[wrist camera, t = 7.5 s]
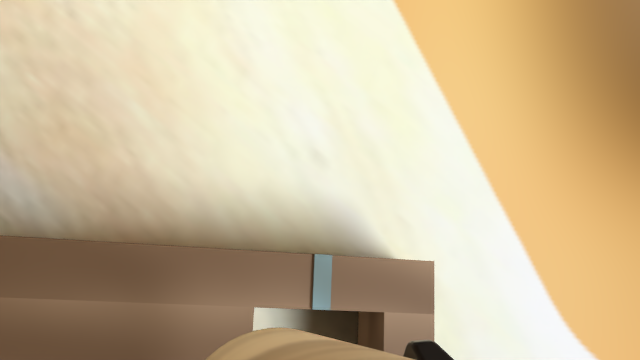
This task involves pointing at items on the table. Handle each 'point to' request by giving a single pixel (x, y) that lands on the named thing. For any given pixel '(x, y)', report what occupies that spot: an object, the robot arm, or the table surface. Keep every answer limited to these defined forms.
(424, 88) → the table surface
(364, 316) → the subfloor panel
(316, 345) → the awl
